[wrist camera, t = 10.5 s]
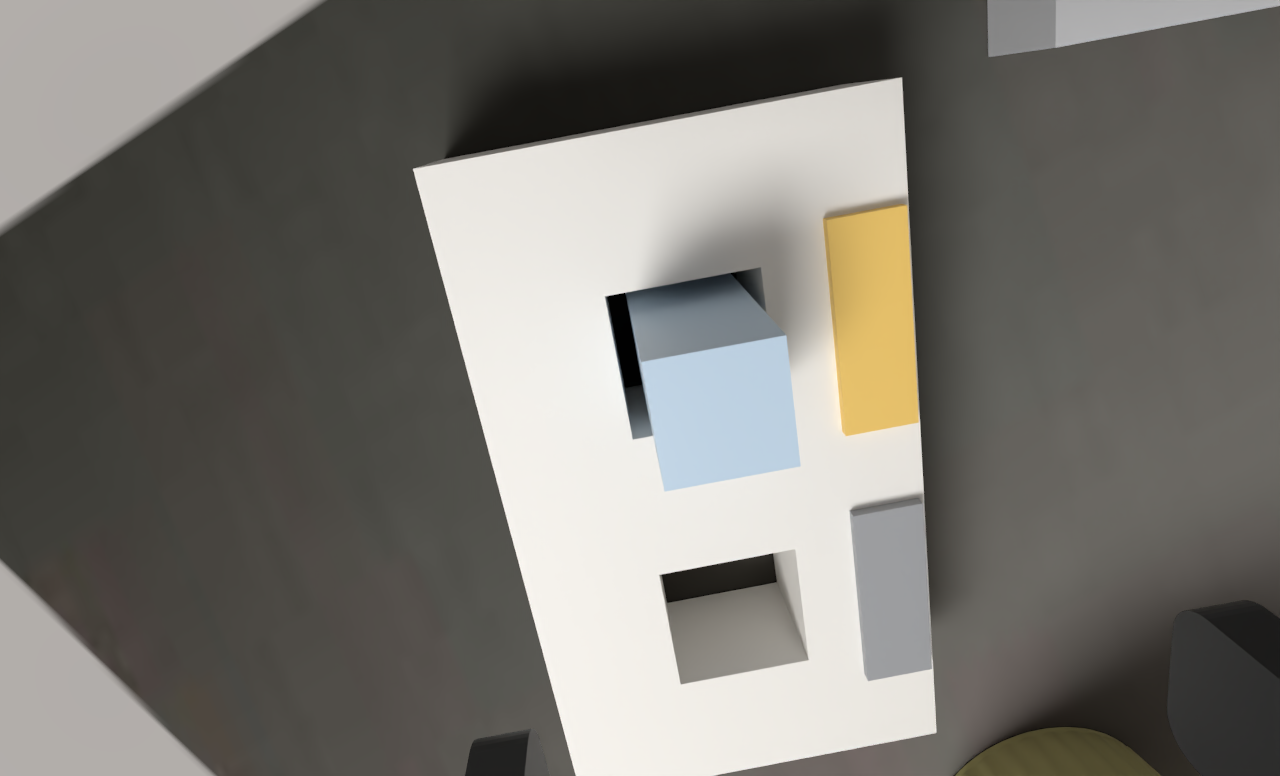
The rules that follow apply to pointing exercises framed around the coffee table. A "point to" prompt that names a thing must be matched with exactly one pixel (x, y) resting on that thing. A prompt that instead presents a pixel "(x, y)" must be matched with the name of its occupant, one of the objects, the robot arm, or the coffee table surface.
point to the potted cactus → (1059, 756)
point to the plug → (713, 382)
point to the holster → (1094, 19)
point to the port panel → (624, 445)
